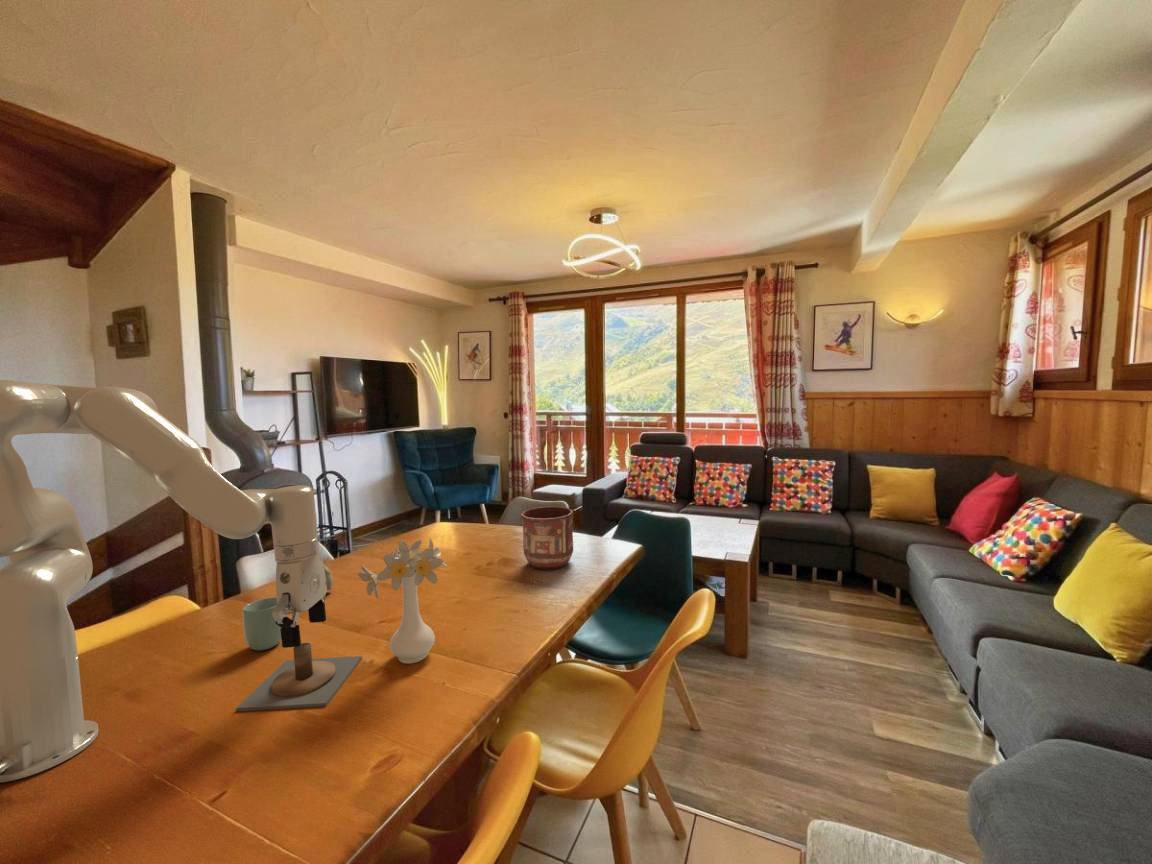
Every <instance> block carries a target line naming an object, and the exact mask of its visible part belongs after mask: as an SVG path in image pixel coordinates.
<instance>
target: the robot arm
mask: <svg viewBox="0 0 1152 864" xmlns="http://www.w3.org/2000/svg"><path fill="white" fill-rule="evenodd" d="M32 434H34V435H35V434H68V435H70V434H73V435H74V434H76V435H78V434H79V435H92V436H93V437H94V438H96V439H98V440H99V441H100V442H101V443H103V444H104V445H106V446H107V447H108V448H110V449H112V450H113V451H114V452H115V453H117V454H118V455H120V456H121V457H123V458H124V459H126V460H127V461H128V462H130V463H131V464H133V465H134V466H135V467H137V468H138V469H140V470H141V471H143V472H144V473H145V474H146V475H148V476H149V477H151V478H152V479H153V480H154V482H156V484H157V485H158V486H159V487H160V488H161V490H163V491H164V492H165V493H166V494H167V495H168V497H170V498H171V499H172V500H173V501H174V502H175V504H177V505H179V507H180V508H181V509H183V510H184V511H185V512H186V513H187V514H189V515H190V516H192V517H193V518H195V519H196V520H197V521H199V522H200V523H201V524H203V525H204V526H206V527H207V528H209V529H211V530H212V531H213V532H215V533H216V534H218V535H220V536H222V537H224V538H228V539H232V540H242V539H247V538H250V537H251V536H254V535H256V534H257V533H258V532H259V531H260V530H261V529H262V528H263V526H264V525H266V524H267V525H268V524H270V525H271V534H272V542H273V543H272V544H273V553H274V561H275V562H276V567H275V589H276V590H275V593H276V597H277V606H276V607H275V609H274V611H273V613H272V615H273V617H274V619H275V622H276V624H277V625H278V628H279V629H280V630H281V639H282V640H281V646H282V648H286V649H288V648H294V647H298V646H300V645H301V644H302V640H301V638H302V637H301V631H300V630H301V629H300V624H297V623H298V620H299V617H300V614H301V613H306V612H307V611H308V620H309V623H310V624H313V623H325V622H326V620H327V614H326V613H327V611H326V605H325V604H326V603H325V601H326V594H327V592H328V590H327V584H326V576H325V571H324V561H323V558H322V554H321V551H320V542H319V534H318V524H317V523H318V522H317V512H316V503H315V494H314V490H313V488H312V487H310V486H309V485H300V484H299V485H289V486H283V487H278V488H273V489H272V488H271V489H270V488H268V489H259V488H258V489H243V490H242V489H239V488H238V487H237V486H235V485H234V484H233V483H231V482H230V481H229V480H227V479H226V478H225V477H224V476H222V475H221V473H220V472H218V471H217V470H216V468H215V467H214V466H213V465H212V464H211V463H210V461H209V460H208V458H207V455H206V453H205V451H204V449H203V447H202V446H201V445H200V444H199V443H198V441H197V440H195V439H194V438H193V437H191V436H189V435H188V434H187V433H185V432H184V431H183V430H182V429H180V428H179V427H178V426H176V425H175V424H174V423H173V422H171V421H170V420H169V419H167V417H166V416H164V415H162V414H161V413H160V412H159V409H158V406H157V404H156V402H155V401H154V399H152V398H151V397H150V396H149V395H147V394H146V393H145V392H142V391H140V390H138V389H134V388H129V387H122V386H120V387H119V386H101V387H93V386H92V387H91V386H77V385H75V386H74V385H62V384H61V385H60V384H50V383H49V384H48V383H37V382H29V381H28V382H27V381H21V380H19V381H18V380H12V379H0V558H4V557H8V558H9V560H10V561H9V562H10V563H9V564H7V565H5V566H3V567H1V568H0V784H1V783H8V782H13V781H17V780H20V779H23V778H28V777H31V776H33V775H36V774H39V773H41V772H44V771H47V770H48V769H51V768H53V767H55V766H58V765H59V764H61V763H64V762H66V761H67V760H69V759H71V758H73V757H75V756H76V755H77V754H79V753H81V752H82V751H84V750H85V749H86V748H87V747H88V746H90V745H91V744H92V743H93V742H94V740H96V738H97V737H98V735H99V724H98V723H97V722H95V721H94V720H93V721H92V720H90V719H89V720H88V719H87V720H86V719H85V718H84V708H83V697H82V685H81V676H80V675H81V674H80V666H79V664H80V662H79V654H78V645H77V637H76V631H75V630H76V629H75V626H74V623H73V620H72V618H71V615H70V613H69V610H68V606H67V605H68V604H67V603H68V601H69V600H70V599H71V598H73V597H74V596H75V595H76V594H78V593H79V592H80V591H81V590H83V589H84V588H85V587H86V586H87V584H88V583H89V581H90V579H91V578H92V575H93V569H94V567H93V566H94V565H93V560H92V556H91V553H90V550H89V547H88V545H87V541H86V538H85V536H84V533H83V530H82V527H81V524H80V521H79V518H78V516H77V513H76V511H75V509H74V507H73V505H72V503H70V501H69V500H68V499H67V498H66V497H65V496H63V495H62V494H60V493H58V492H56V491H55V490H51V489H47V488H42V487H33V485H32V482H31V480H30V477H29V473H28V469H27V467H26V464H25V463H24V461H23V459H22V457H21V456H20V455H19V453H18V452H17V450H16V449H15V448H14V446H13V443H12V439H13V438H14V437H15V436H17V435H32ZM288 615H292V617H291V618H289V617H288Z"/></svg>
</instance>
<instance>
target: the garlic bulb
mask: <svg viewBox="0 0 1152 864" xmlns="http://www.w3.org/2000/svg"><path fill="white" fill-rule="evenodd" d="M323 565H324V564H323ZM324 571H325V576H326V584H327V591H330V590H333V589H334V588H335V587H334V586H333V584H334V578H333V572H332V571H331V569H330V568H329V567H328V566H326V565H324Z"/></svg>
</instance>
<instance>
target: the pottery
mask: <svg viewBox="0 0 1152 864" xmlns="http://www.w3.org/2000/svg"><path fill="white" fill-rule="evenodd" d="M573 515H574V512H573V510H572V509H570V508H568V507H565V506H553V505H552V506H550V505H549V506H539V507H533V508H529V509H527V510H523V511H522V513H520V519H521V525H522V533H523V534H522V535H523V541H522V543H523V549H522V550H523V554H524V557H525V559H526V561H527V563H528V564H529V565H531V567H533V568H535V570H536V569H537V570H541V571H543V570H544V571H550V570H551V571H552V570H553V571H554V570H558V569H561V568H563V567H565V566H566V565H567V564H568V563H569V562H570V560H571V558H572V555H573V552H574V536H573V534H574V533H573V531H574V530H573V529H574V528H573V523H574V520H573V519H574V518H573V517H574V516H573Z"/></svg>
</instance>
